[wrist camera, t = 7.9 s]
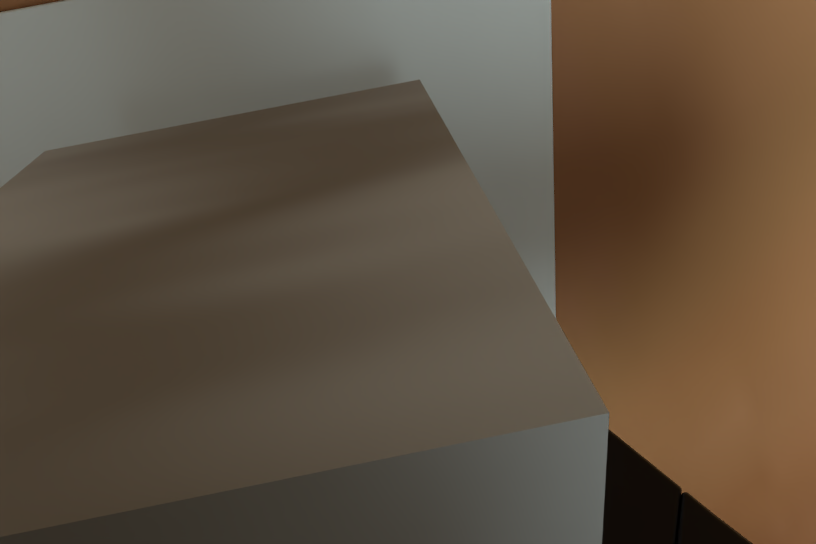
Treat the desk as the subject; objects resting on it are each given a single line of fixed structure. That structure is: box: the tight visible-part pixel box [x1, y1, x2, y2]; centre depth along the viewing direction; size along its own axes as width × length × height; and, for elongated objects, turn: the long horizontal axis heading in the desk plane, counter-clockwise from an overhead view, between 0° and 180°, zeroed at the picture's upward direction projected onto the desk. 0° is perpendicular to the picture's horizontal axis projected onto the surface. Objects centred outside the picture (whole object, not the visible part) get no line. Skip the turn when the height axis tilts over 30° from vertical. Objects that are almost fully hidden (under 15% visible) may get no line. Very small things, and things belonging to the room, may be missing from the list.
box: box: [0, 79, 609, 544], centre depth 7 cm, size 5×9×6 cm, turn 9°
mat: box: [0, 0, 556, 318], centre depth 12 cm, size 10×12×1 cm
